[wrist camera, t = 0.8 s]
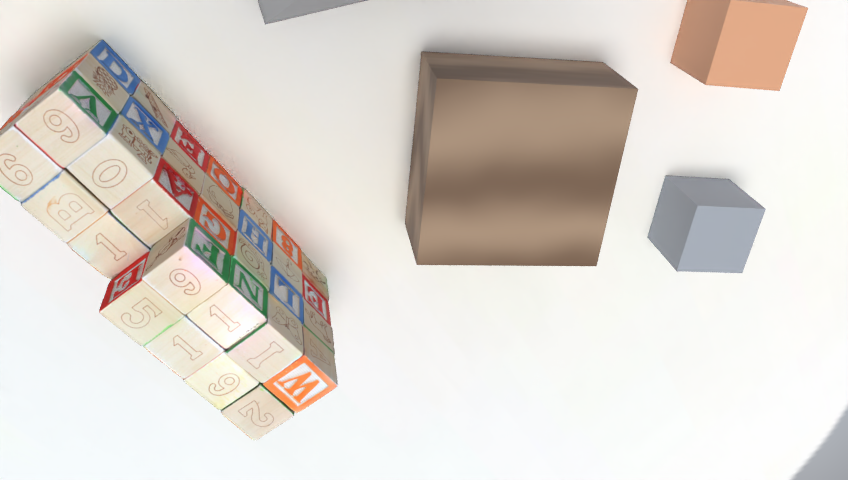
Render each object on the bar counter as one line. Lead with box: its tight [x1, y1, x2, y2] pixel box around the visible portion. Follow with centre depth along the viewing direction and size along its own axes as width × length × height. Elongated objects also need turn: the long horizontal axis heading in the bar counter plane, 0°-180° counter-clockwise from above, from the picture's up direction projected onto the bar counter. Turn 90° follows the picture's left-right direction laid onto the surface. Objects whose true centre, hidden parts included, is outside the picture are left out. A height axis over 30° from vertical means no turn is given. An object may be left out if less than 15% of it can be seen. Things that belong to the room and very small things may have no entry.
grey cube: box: [648, 176, 765, 273], centre depth 54 cm, size 5×5×5 cm
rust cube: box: [670, 0, 808, 91], centre depth 47 cm, size 5×5×5 cm
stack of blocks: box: [0, 40, 338, 440], centre depth 44 cm, size 21×6×12 cm, turn 34°
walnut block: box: [405, 51, 638, 266], centre depth 49 cm, size 12×12×6 cm
